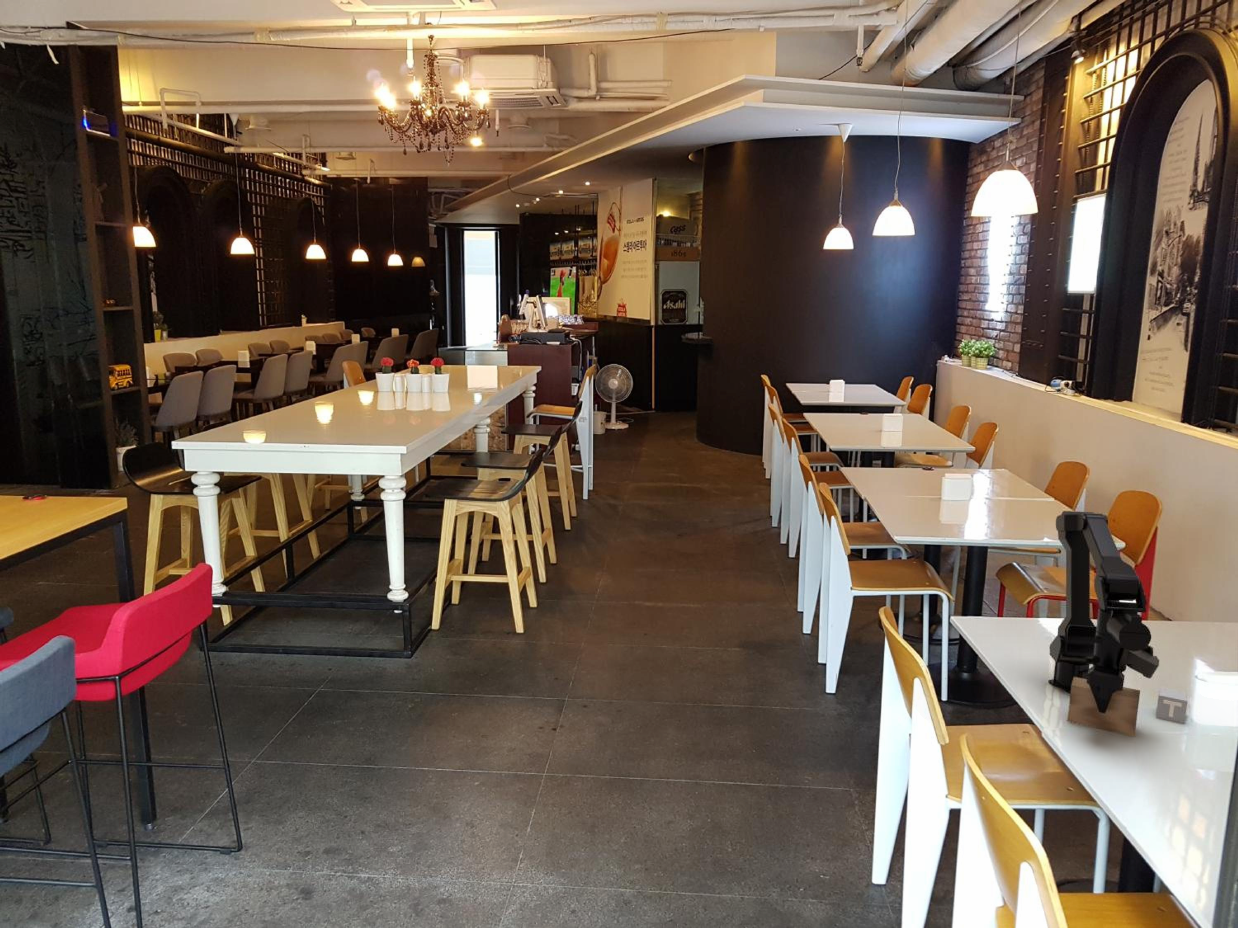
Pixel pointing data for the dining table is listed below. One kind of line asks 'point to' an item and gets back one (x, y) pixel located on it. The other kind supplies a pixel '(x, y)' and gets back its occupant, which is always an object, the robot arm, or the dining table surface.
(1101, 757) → the dining table surface
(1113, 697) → the brown wooden block
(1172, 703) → the letter cube
